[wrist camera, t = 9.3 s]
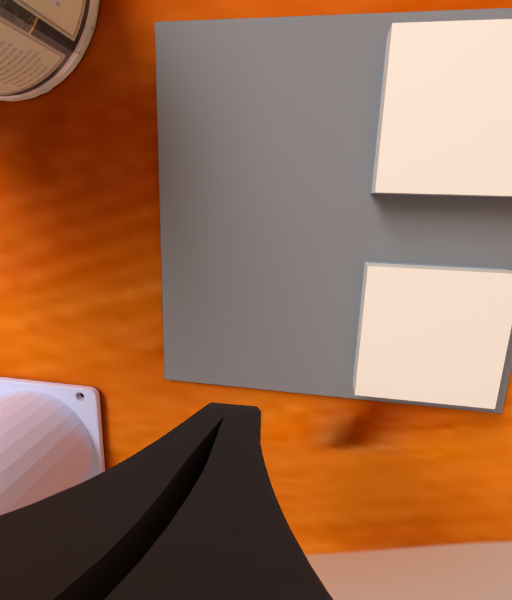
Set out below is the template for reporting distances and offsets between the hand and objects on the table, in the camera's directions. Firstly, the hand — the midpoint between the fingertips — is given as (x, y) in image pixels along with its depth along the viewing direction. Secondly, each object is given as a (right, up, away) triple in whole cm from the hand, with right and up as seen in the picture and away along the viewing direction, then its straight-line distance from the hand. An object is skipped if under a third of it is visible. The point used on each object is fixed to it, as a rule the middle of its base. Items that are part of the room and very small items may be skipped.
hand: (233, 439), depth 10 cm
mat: (+4, +7, +8) cm, 12 cm away
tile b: (+6, +11, +6) cm, 14 cm away
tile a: (+5, +2, +8) cm, 10 cm away
